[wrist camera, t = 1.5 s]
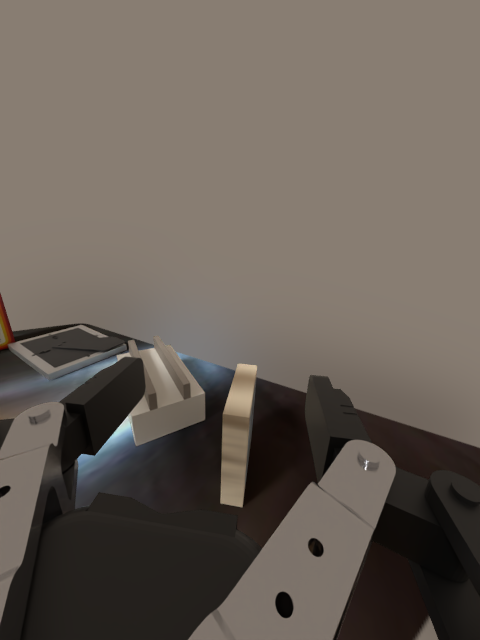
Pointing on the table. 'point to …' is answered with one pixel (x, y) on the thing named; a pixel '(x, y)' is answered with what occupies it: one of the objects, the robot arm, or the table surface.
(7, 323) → the baking soda box
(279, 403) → the table surface
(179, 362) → the picture ledge
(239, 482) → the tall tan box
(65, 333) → the picture frame
